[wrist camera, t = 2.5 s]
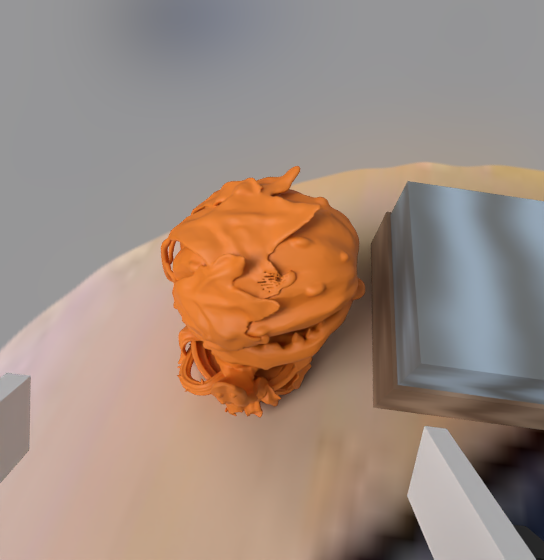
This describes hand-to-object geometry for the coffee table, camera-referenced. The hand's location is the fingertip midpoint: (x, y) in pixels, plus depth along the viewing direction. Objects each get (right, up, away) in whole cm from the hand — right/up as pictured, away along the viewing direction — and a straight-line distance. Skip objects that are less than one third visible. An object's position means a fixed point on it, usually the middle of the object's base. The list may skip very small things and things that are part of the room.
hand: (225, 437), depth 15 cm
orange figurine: (0, -1, +19) cm, 19 cm away
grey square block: (+17, +1, +22) cm, 28 cm away
